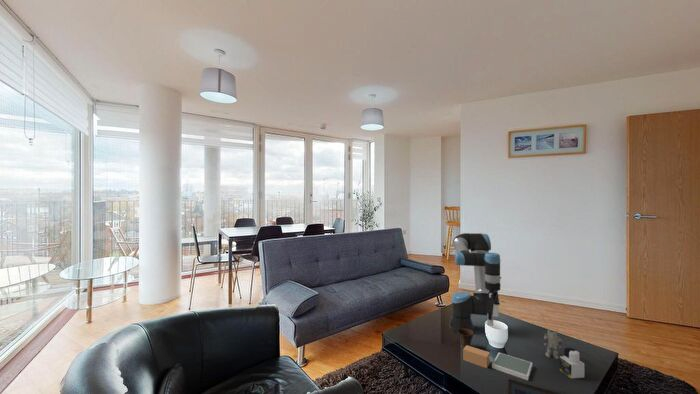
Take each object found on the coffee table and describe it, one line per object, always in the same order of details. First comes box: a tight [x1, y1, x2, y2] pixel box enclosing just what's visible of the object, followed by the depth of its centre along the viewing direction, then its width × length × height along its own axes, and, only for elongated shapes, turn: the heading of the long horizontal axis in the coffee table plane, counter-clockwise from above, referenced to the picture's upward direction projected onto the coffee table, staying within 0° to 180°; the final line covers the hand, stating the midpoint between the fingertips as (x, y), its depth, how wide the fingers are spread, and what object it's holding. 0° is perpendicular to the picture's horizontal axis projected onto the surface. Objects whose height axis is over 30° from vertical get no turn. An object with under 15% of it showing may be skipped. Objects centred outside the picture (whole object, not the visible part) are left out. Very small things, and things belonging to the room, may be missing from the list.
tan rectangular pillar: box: [462, 345, 491, 369], centre depth 155 cm, size 12×6×6 cm, turn 50°
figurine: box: [543, 329, 562, 360], centre depth 158 cm, size 8×8×15 cm
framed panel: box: [491, 352, 534, 381], centre depth 150 cm, size 16×14×2 cm
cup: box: [457, 328, 475, 350], centre depth 170 cm, size 9×9×10 cm
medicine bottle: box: [559, 347, 585, 379], centre depth 144 cm, size 7×7×12 cm
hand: (493, 320), depth 158 cm, fingers open, 13 cm apart
